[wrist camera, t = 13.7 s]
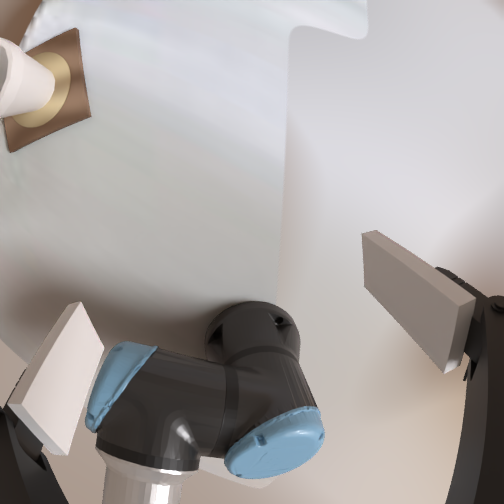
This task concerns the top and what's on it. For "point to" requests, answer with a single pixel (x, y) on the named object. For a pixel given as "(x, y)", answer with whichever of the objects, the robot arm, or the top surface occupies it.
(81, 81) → the stand board
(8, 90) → the foam cup
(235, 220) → the top surface
